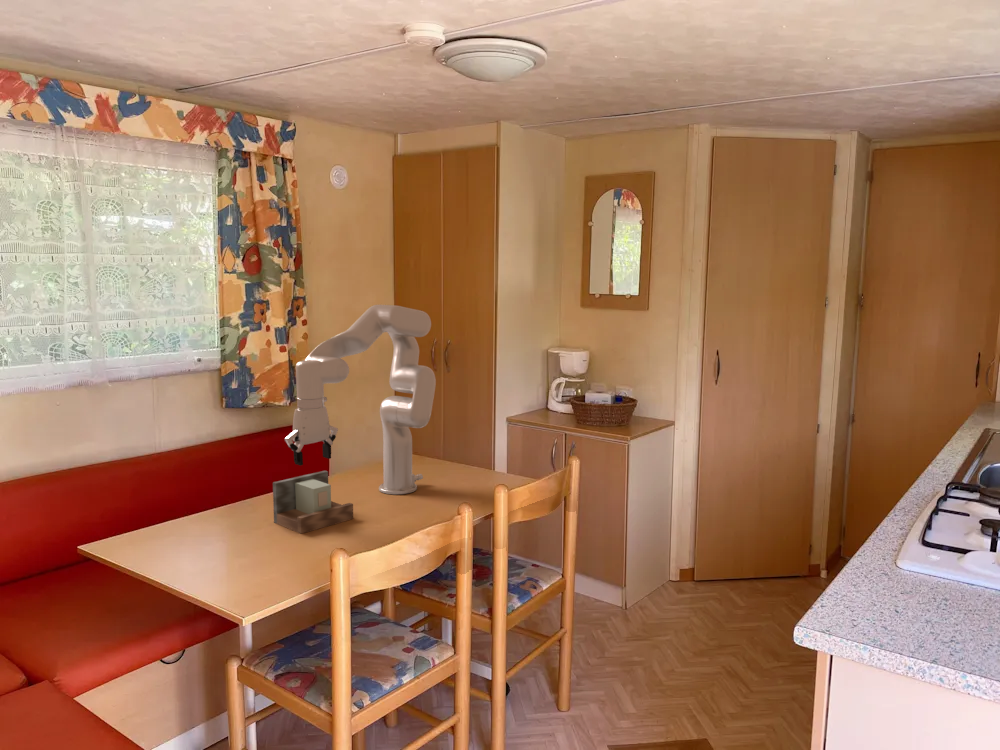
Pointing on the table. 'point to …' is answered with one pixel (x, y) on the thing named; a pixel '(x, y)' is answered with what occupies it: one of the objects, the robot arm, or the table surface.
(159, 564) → the table surface
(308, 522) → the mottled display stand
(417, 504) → the table surface
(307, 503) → the mini block
